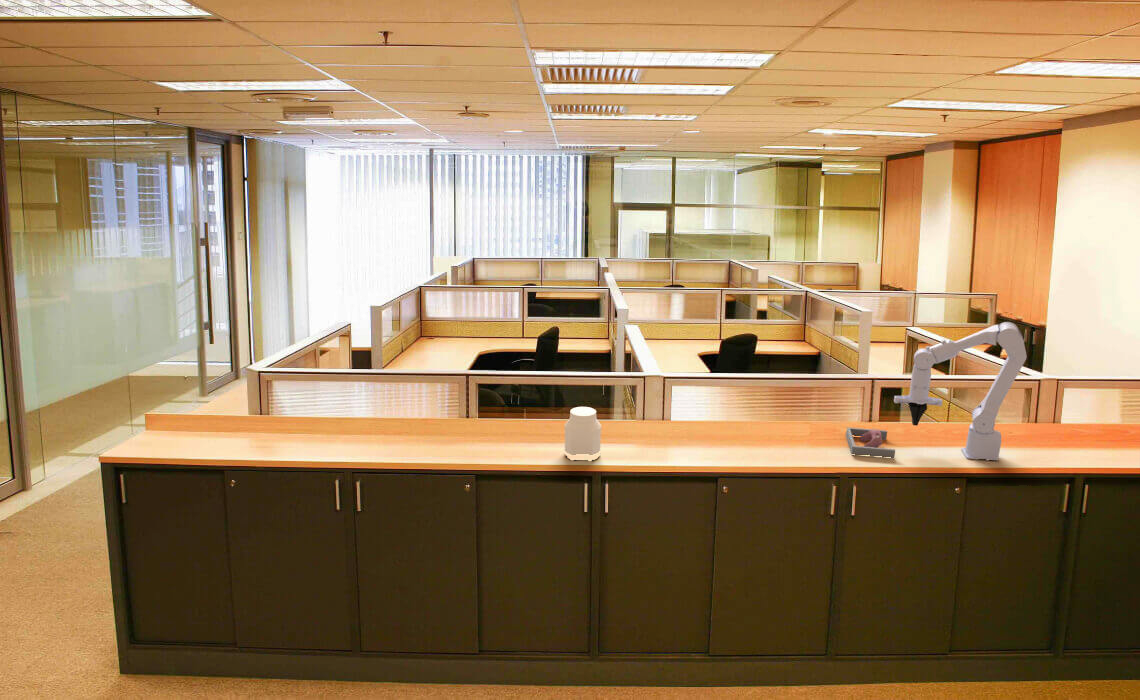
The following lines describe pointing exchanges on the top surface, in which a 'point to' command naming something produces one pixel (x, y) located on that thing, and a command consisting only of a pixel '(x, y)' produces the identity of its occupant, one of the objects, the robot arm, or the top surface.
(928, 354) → the robot arm
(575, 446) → the jar
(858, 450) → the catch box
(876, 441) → the video game controller
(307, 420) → the top surface
